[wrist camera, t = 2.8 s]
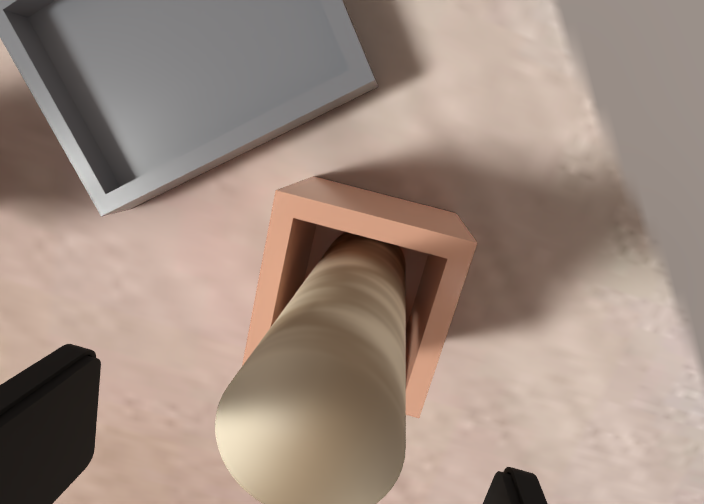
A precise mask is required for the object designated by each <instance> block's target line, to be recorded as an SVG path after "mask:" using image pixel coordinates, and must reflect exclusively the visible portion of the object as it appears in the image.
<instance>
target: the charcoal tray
mask: <svg viewBox="0 0 704 504" xmlns="http://www.w3.org/2000/svg"><path fill="white" fill-rule="evenodd" d="M0 38H1V40H2V42H3V43H4V45H5V47H6V49H7V50H8V52H9V54H10V56H11V57H12V59H13V61H14V63H15V65H16V66H17V68H18V70H19V72H20V73H21V75H22V77H23V79H24V80H25V82H26V84H27V86H28V88H29V89H30V91H31V93H32V95H33V96H34V98H35V100H36V102H37V104H38V105H39V107H40V109H41V111H42V112H43V114H44V116H45V118H46V119H47V121H48V123H49V125H50V127H51V128H52V130H53V132H54V134H55V135H56V137H57V139H58V141H59V143H60V144H61V146H62V148H63V150H64V151H65V153H66V155H67V157H68V158H69V160H70V162H71V164H72V166H73V167H74V169H75V171H76V173H77V174H78V176H79V178H80V180H81V182H82V183H83V185H84V187H85V189H86V190H87V192H88V194H89V196H90V197H91V199H92V201H93V203H94V205H95V206H96V208H97V210H98V212H99V213H100V215H101V216H104V215H108V214H113V213H117V212H121V211H125V210H129V209H132V208H134V207H136V206H138V205H140V204H142V203H144V202H146V201H148V200H150V199H152V198H154V197H156V196H158V195H160V194H162V193H164V192H166V191H168V190H170V189H172V188H174V187H176V186H178V185H180V184H182V183H184V182H186V181H188V180H190V179H192V178H194V177H196V176H198V175H200V174H202V173H205V172H207V171H209V170H211V169H213V168H215V167H217V166H219V165H221V164H223V163H225V162H227V161H229V160H231V159H233V158H235V157H237V156H239V155H241V154H243V153H245V152H247V151H249V150H251V149H253V148H255V147H257V146H259V145H261V144H263V143H265V142H267V141H269V140H271V139H273V138H275V137H277V136H279V135H282V134H284V133H286V132H288V131H290V130H292V129H294V128H296V127H298V126H300V125H302V124H304V123H306V122H308V121H310V120H312V119H314V118H316V117H318V116H320V115H322V114H324V113H326V112H328V111H330V110H332V109H334V108H336V107H338V106H340V105H342V104H344V103H346V102H348V101H350V100H352V99H354V98H356V97H359V96H361V95H363V94H365V93H367V92H369V91H371V90H373V89H375V88H377V87H378V85H377V82H376V80H375V77H374V75H373V73H372V70H371V68H370V65H369V63H368V61H367V58H366V56H365V53H364V51H363V48H362V46H361V44H360V41H359V39H358V36H357V34H356V32H355V29H354V27H353V24H352V22H351V19H350V17H349V15H348V12H347V10H346V7H345V5H344V2H343V0H0Z"/></svg>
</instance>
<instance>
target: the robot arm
mask: <svg viewBox="0 0 704 504" xmlns="http://www.w3.org/2000/svg"><path fill="white" fill-rule="evenodd" d="M100 369H101V362H100V360H99V359H97V358H96V354H95V352H94V351H93V350H90V349H86V348H83V347H79V346H76V345H72V344H66V345H64V346H62V347H60V348H59V349H57V350H56V351H54V352H52V353H51V354H49V355H48V356H46V357H44V358H43V359H41V360H40V361H38V362H36V363H35V364H33V365H32V366H30V367H28V368H27V369H25V370H24V371H22V372H21V373H19V374H17V375H16V376H14V377H13V378H11V379H9V380H8V381H6V382H5V383H3V384H1V385H0V504H53V502H54V501H55V500H56V499H57V498H58V497H59V496H60V495H61V494H62V493H63V492H64V491H65V490H66V489H67V488H68V487H69V485H70V484H71V483H72V482H73V481H74V480H75V479H76V478H77V477H78V476H79V475H80V474H81V473H82V472H83V471H84V470H85V468H86V467H87V466H88V464H89V463H90V461H91V459H92V457H93V454H94V448H95V435H96V421H97V408H98V395H99V382H100ZM483 504H547V501H546V499H545V496H544V494H543V491H542V489H541V486H540V484H539V481H538V479H537V477H536V475H534V474H533V473H529V472H526V471H522V470H519V469H515V468H511V467H507V468H506V469H505V470H504V472H500V471H498V472H497V473H496V474H495V476H494V478H493V481H492V483H491V485H490V488H489V490H488V493H487V495H486V497H485V500H484V502H483Z"/></svg>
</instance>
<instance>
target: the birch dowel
mask: <svg viewBox="0 0 704 504" xmlns="http://www.w3.org/2000/svg"><path fill="white" fill-rule="evenodd" d="M215 433H216V440H217V445H218V448H219V451H220V454H221V457H222V459H223V461H224V463H225V465H226V467H227V469H228V470H229V472H230V473H231V475H232V476H233V478H234V479H235V480H236V481H237V482H238V484H239V485H240V486H241V487H242V488H243V489H244V490H245V491H246V492H248V493H249V494H250V495H251V496H253V497H254V498H255V499H256V500H258V501H260V502H261V503H263V504H376V503H378V502H379V501H380V500H381V499H382V498H383V497H384V496H386V494H387V493H388V492H389V491H390V490H391V489H392V487H393V486H394V484H395V482H396V481H397V479H398V477H399V475H400V472H401V470H402V467H403V463H404V459H405V449H406V265H405V258H404V255H403V252H402V250H401V248H400V247H399V246H398V245H394V244H390V243H386V242H383V241H379V240H375V239H371V238H368V237H364V236H360V235H356V234H352V233H349V232H344V233H343V234H341V235H340V236H339V237H337V238H336V239H335V240H334V242H333V243H332V244H331V245H330V247H329V248H328V250H327V251H326V252H325V254H324V255H323V256H322V258H321V259H320V261H319V262H318V263H317V265H316V266H315V267H314V269H313V270H312V272H311V273H310V274H309V276H308V277H307V278H306V280H305V281H304V282H303V284H302V285H301V287H300V288H299V289H298V291H297V292H296V293H295V295H294V296H293V298H292V299H291V300H290V302H289V303H288V304H287V306H286V307H285V309H284V310H283V311H282V313H281V314H280V315H279V317H278V318H277V320H276V321H275V322H274V324H273V325H272V326H271V328H270V329H269V330H268V332H267V333H266V335H265V336H264V337H263V339H262V340H261V341H260V343H259V344H258V346H257V347H256V348H255V350H254V351H253V352H252V354H251V355H250V357H249V358H248V359H247V361H246V362H245V363H244V365H243V366H242V367H241V369H240V370H239V372H238V373H237V374H236V376H235V377H234V378H233V380H232V381H231V383H230V384H229V385H228V387H227V389H226V390H225V392H224V393H223V395H222V398H221V400H220V402H219V405H218V409H217V413H216V421H215Z"/></svg>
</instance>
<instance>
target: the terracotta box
mask: <svg viewBox="0 0 704 504" xmlns="http://www.w3.org/2000/svg"><path fill="white" fill-rule="evenodd" d="M344 232H349V233H352V234H356V235H360V236H364V237H368V238H371V239H375V240H379V241H383V242H386V243H390V244H394V245H398V246H399V247H400V248H401V250H402V252H403V255H404V258H405V265H406V415H410V416H413V417H416V418H419V417H420V414H421V411H422V408H423V405H424V402H425V399H426V396H427V393H428V390H429V387H430V384H431V381H432V378H433V375H434V372H435V369H436V366H437V363H438V360H439V357H440V354H441V351H442V348H443V345H444V342H445V339H446V336H447V333H448V330H449V327H450V324H451V321H452V318H453V315H454V312H455V309H456V306H457V303H458V300H459V297H460V294H461V291H462V288H463V285H464V282H465V279H466V276H467V273H468V270H469V267H470V264H471V261H472V258H473V255H474V252H475V249H476V246H477V242H476V240H475V239H474V237H473V236H472V235H471V233H470V232H469V230H468V229H467V228H466V226H465V225H464V223H463V222H462V221H461V219H460V218H459V216H458V215H457V214H456V213H454V212H450V211H446V210H442V209H438V208H434V207H430V206H427V205H423V204H419V203H415V202H411V201H407V200H403V199H400V198H396V197H392V196H388V195H384V194H380V193H376V192H372V191H369V190H365V189H361V188H357V187H353V186H349V185H345V184H341V183H338V182H334V181H330V180H326V179H322V178H318V177H314V176H313V177H310V178H308V179H305V180H302V181H299V182H297V183H294V184H291V185H289V186H286V187H283V188H280V189H278V190H276V192H275V197H274V202H273V207H272V213H271V218H270V223H269V228H268V233H267V239H266V244H265V249H264V254H263V260H262V265H261V270H260V275H259V280H258V286H257V291H256V296H255V301H254V306H253V312H252V317H251V322H250V327H249V333H248V338H247V343H246V348H245V353H244V359H243V364H242V366H243V365H244V363H245V362H246V361H247V359H248V358H249V357H250V355H251V354H252V352H253V351H254V350H255V348H256V347H257V346H258V344H259V343H260V341H261V340H262V339H263V337H264V336H265V335H266V333H267V332H268V330H269V329H270V328H271V326H272V325H273V324H274V322H275V321H276V320H277V318H278V317H279V315H280V314H281V313H282V311H283V310H284V309H285V307H286V306H287V304H288V303H289V302H290V300H291V299H292V298H293V296H294V295H295V293H296V292H297V291H298V289H299V288H300V287H301V285H302V284H303V282H304V281H305V280H306V278H307V277H308V276H309V274H310V273H311V272H312V270H313V269H314V267H315V266H316V265H317V263H318V262H319V261H320V259H321V258H322V256H323V255H324V254H325V252H326V251H327V250H328V248H329V247H330V245H331V244H332V243H333V242H334V240H335V239H336V238H337V237H339V236H340V235H341V234H343V233H344Z"/></svg>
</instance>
